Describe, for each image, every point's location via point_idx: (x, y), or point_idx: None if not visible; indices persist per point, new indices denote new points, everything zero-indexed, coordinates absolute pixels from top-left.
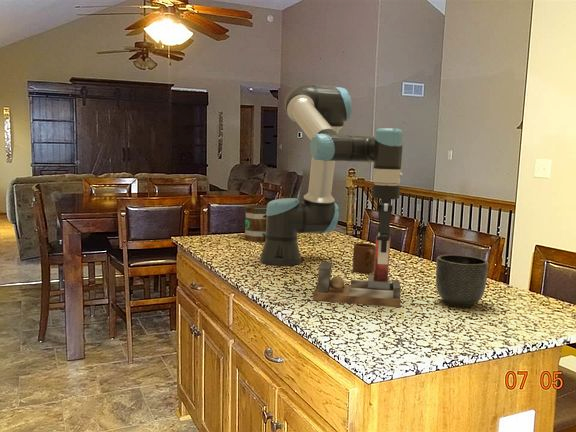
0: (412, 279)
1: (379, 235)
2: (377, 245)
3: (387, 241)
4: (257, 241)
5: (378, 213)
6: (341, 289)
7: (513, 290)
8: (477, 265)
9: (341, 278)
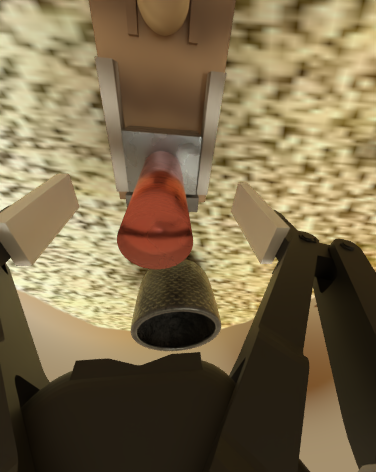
0: (313, 229)
1: (267, 226)
2: (134, 198)
3: (14, 257)
4: None
5: (241, 377)
6: (133, 24)
7: (243, 315)
8: (137, 342)
9: (154, 11)
